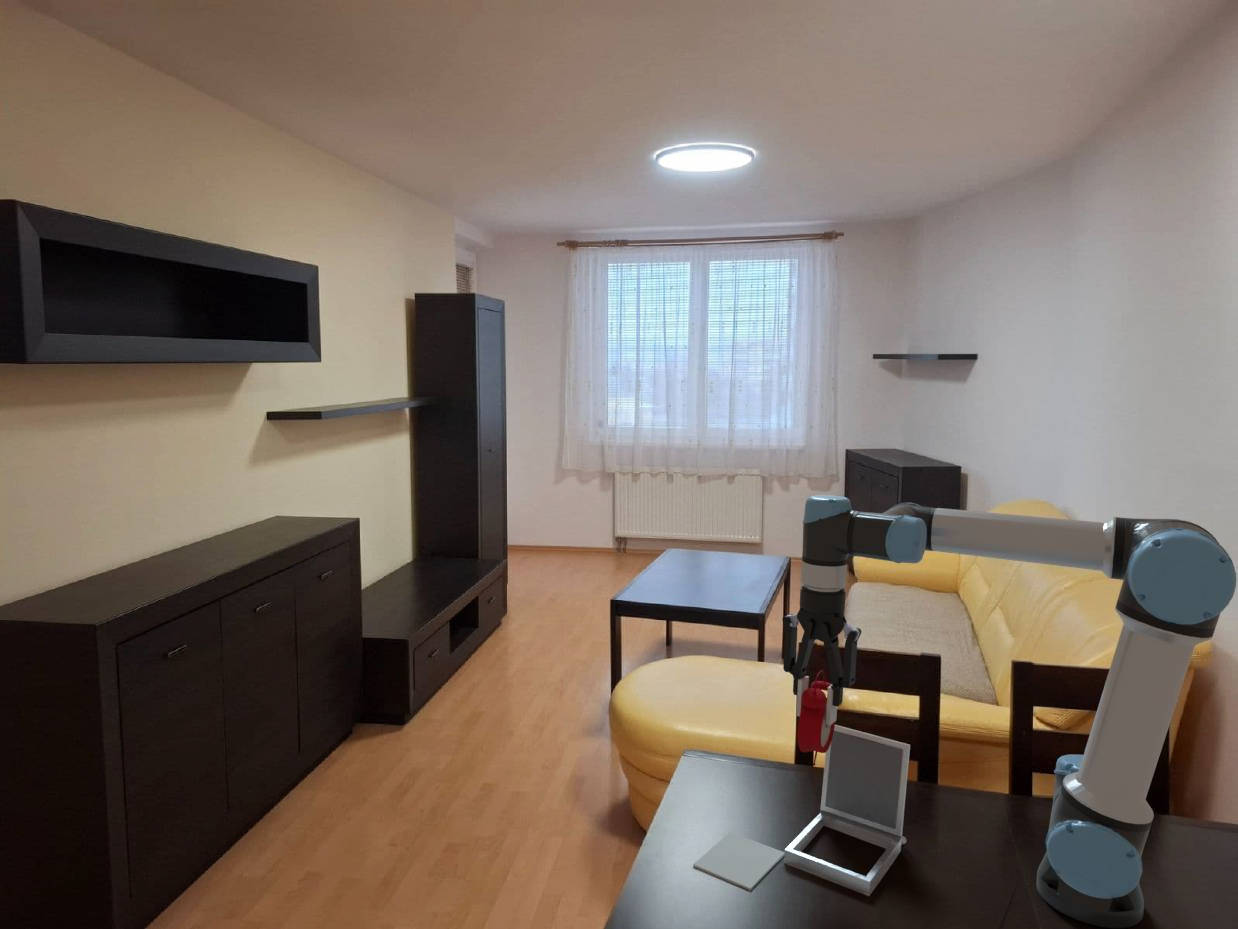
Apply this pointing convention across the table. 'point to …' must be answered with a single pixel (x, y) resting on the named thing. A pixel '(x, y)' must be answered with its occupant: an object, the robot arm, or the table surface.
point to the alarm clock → (815, 719)
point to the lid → (866, 779)
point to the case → (836, 873)
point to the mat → (739, 860)
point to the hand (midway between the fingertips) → (816, 718)
